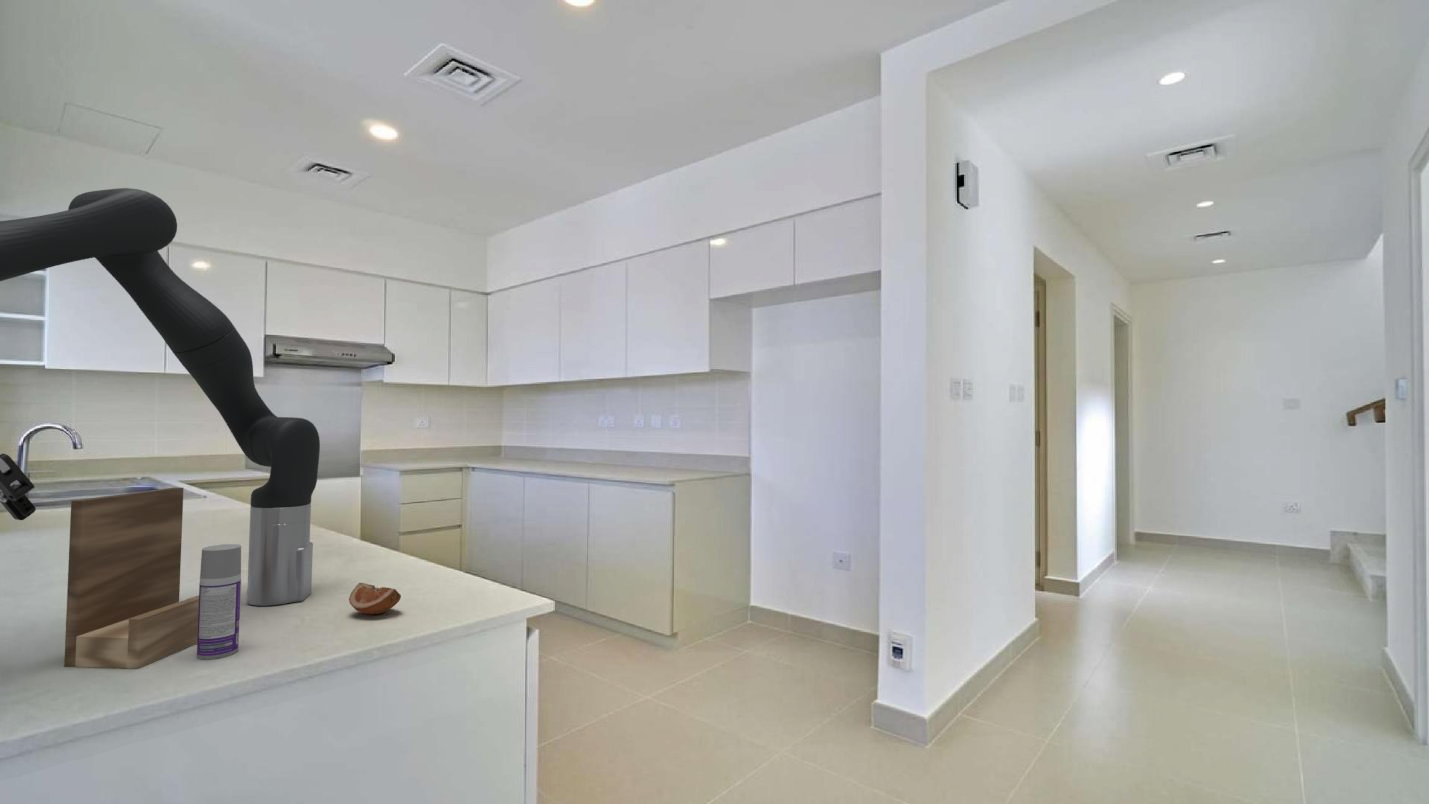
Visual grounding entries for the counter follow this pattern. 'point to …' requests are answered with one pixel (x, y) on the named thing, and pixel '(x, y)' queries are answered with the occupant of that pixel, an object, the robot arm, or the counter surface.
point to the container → (219, 601)
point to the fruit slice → (373, 599)
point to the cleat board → (127, 581)
